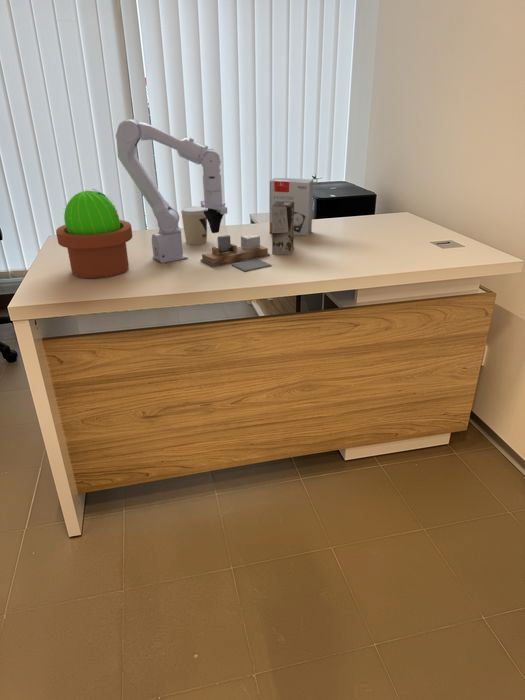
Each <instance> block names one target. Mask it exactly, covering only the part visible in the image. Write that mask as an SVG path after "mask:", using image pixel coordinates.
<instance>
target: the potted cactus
mask: <svg viewBox="0 0 525 700" xmlns="http://www.w3.org/2000/svg"><path fill="white" fill-rule="evenodd" d="M113 202H114V200H111V199H109V196H107V195H106V194H105V193H103V192H101V191H99V190H96V189H94V188H92V190H80V191H79V192H78V193H75V194H74V195H73V196H72V197H71V198H70V199H69V201H67V203H66V205H65V208H64V207H63V210H64V213H62V215H64V216H63V217H64V218H63V221H64V224H63V225H61V226H59V227H58V228H56V230H55V234H56V239H57V243H58V245H59V246H60V247H63V248H66V249H67V252H68V253H67V254H68V258H69V264H70V268H71V273H72V275H74V276H76V277H78V278H82V279H101V278H102V279H103V278H108V277H114V276H115V277H116V276H118V275H120V274H123V273H125V272H127V271H128V269H129V266H130V265H129V257H128V256H129V255H128V249H127V242H129V241H131V240H132V239H133V230H132V224H131V223H130V222H129V221H127V220H123V219H120V217H119V213H118V210H117V209H116V207H115V205H114V204H113Z"/></svg>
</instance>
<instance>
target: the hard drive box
mask: <svg viewBox="0 0 525 700" xmlns="http://www.w3.org/2000/svg"><path fill="white" fill-rule="evenodd" d="M313 197H314V179H313V178H311V179H309V178H287V177H286V178H285V177H274V178H271V180H269V234H272V206H273V205H274V204H275V203H276V202H283V201H290V202H294V236H304V237H308V236H309V235H310V234H311V232H312V229H313V228H312V227H313V225H312V224H313V203H314V202H313V201H314V198H313Z"/></svg>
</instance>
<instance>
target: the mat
mask: <svg viewBox="0 0 525 700" xmlns="http://www.w3.org/2000/svg"><path fill="white" fill-rule="evenodd" d="M231 266H232V267H234V268H236V269H238V270H240V271H242V272H245V273H246V272H250V271H256V270H259V269H264V268H268V267H272V264H270V263H268V262H266V261H263V260H262V259H259V258H255V259H250V260H245V261H240V262H235V263H231Z"/></svg>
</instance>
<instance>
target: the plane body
mask: <svg viewBox="0 0 525 700" xmlns="http://www.w3.org/2000/svg"><path fill="white" fill-rule="evenodd" d="M231 247H232V251H230V252H225V253H219V249H218V247H216V246H212V247H211V251H209V252H205V253H201V257H202V258H201V259H200V262H201V263H203V264H205V265H207V266H209V267H211V268H214V267H220V266H225V265H229V264H235V263H240V262H245V261H250V260H254V259H259V258H263V257H268V256H269V257H270V253H269V252H268V251H269V249H268V247H266V246H263V245H261V244H260V248H258V249H253V250H248V251H247V250H245V249H243V248H241V246H237V244H235V243H231Z"/></svg>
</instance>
